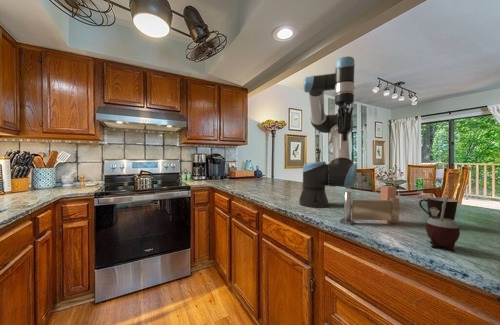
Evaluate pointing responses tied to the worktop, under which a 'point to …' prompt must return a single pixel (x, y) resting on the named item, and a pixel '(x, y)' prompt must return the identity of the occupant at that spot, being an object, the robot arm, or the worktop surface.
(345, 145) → the robot arm
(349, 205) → the hinge post
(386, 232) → the worktop surface
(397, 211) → the gate
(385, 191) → the post
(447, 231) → the mate gourd
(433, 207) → the coffee mug
